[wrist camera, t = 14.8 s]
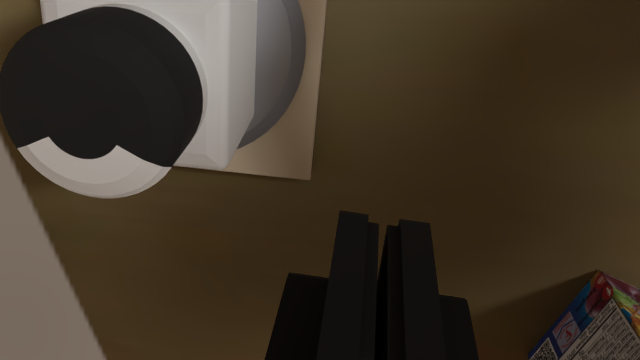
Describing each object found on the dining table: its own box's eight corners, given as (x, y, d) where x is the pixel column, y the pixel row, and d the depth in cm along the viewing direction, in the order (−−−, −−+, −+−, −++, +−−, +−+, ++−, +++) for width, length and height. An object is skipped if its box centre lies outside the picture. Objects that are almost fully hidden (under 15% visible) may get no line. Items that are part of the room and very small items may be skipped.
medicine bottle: (109, -39, 28) (-54, -8, 17) (259, -26, 27) (193, 14, 16) (120, 105, 30) (-13, 212, 20) (255, 118, 30) (196, 232, 19)
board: (336, -96, 28) (334, -97, 26) (311, 171, 34) (309, 186, 32) (46, -125, 28) (24, -127, 26) (72, 146, 34) (56, 159, 32)
